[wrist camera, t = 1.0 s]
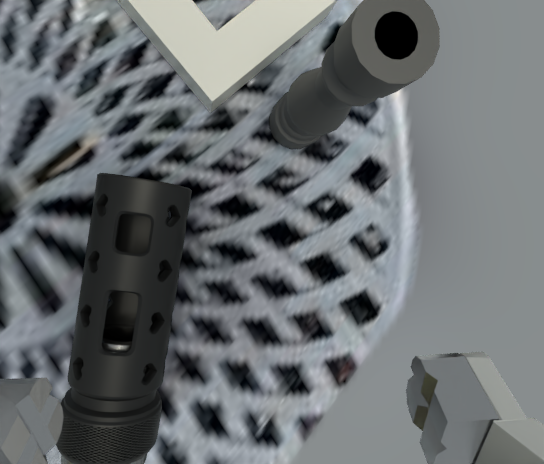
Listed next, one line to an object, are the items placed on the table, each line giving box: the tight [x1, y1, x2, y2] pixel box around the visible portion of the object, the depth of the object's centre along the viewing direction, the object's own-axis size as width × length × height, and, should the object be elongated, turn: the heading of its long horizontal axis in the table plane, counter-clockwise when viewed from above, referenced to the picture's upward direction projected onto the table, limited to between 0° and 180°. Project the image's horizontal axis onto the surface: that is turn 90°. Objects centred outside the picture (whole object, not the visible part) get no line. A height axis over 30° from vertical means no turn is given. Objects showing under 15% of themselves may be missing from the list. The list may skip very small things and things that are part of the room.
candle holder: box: [269, 0, 439, 149], centre depth 37 cm, size 6×6×25 cm
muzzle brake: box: [56, 173, 192, 464], centre depth 42 cm, size 10×28×10 cm, turn 171°
